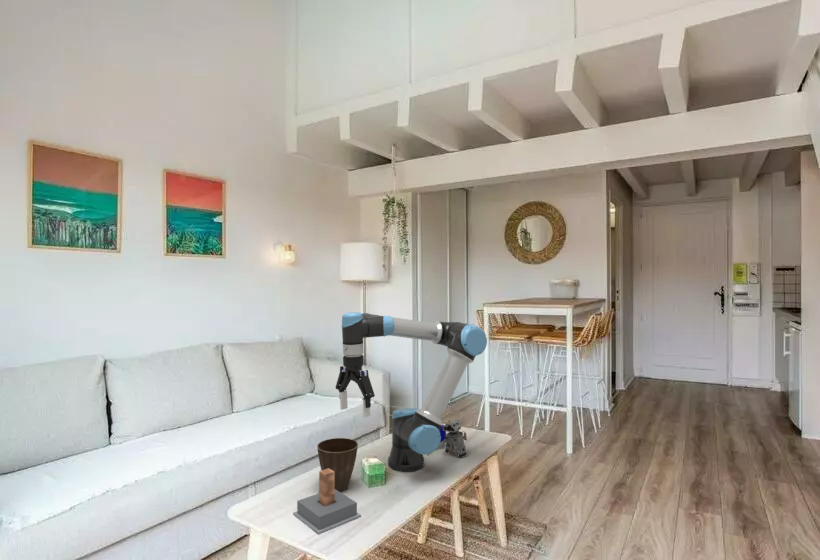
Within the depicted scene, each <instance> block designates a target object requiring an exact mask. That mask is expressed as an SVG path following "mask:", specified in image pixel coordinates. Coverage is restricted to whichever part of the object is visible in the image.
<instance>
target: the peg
mask: <svg viewBox="0 0 820 560" xmlns="http://www.w3.org/2000/svg"><path fill="white" fill-rule="evenodd" d="M318 481H319V483H318V486H319V487H318V493H319V503H320V504H322V505H323V506H327V505H330V504H333V503H335V472H334V471H333V470H331V469H329V468H328V469H325V470H322V471H321V470H319V471H318Z"/></svg>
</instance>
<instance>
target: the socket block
mask: <svg viewBox="0 0 820 560" xmlns="http://www.w3.org/2000/svg"><path fill="white" fill-rule="evenodd" d="M296 503H297V504H296V506H297V507H296V509H297V510H296V511H294V512H292V516H294V517H296V519H298V520H299V521H300V522H302V523H303V524H304V525H305V526H307V527H308V528H310V529H311V530H312V531H313V532H315V533H316V534H317V535H320V534H323V533H326V532H328V531H330V530H332V529H335V528H337V527H340V526H342V525H344V524H348V523H350V522H352V521H354V520H356V518H357V519H359V518H361V517H362V514H360V513H359V512H358V503H357V501H355V500H353V499H352V498H350V497H348V496H347V495H345V494H344V493H342V491H340V492H339V491H337V490H336V489H335V503H333V504H330V505H327V506H323V505H322V504H320V503H319V492H317V493H316V494H313V495H309V496H307V497H304V498H301V499H299V500H297V501H296Z"/></svg>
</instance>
